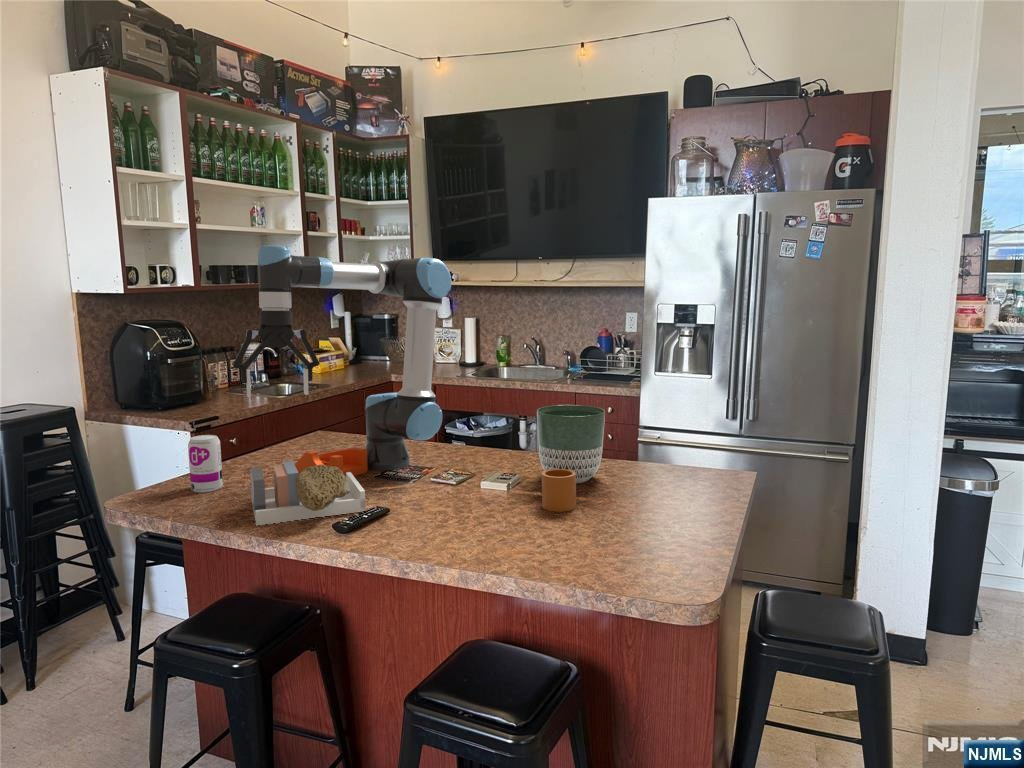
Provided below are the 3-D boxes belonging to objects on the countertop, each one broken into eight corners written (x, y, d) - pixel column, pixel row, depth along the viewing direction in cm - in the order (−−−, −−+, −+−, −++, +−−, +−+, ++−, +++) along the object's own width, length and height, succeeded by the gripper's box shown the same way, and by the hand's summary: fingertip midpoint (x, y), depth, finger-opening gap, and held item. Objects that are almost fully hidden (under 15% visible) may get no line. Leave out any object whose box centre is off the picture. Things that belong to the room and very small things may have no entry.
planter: (526, 488, 195) (527, 413, 192) (549, 471, 213) (549, 403, 210) (593, 495, 188) (594, 418, 185) (611, 477, 206) (612, 407, 203)
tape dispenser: (367, 475, 210) (366, 449, 209) (337, 485, 200) (336, 457, 198) (324, 468, 219) (323, 442, 218) (294, 477, 209) (292, 450, 207)
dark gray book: (262, 498, 180) (260, 466, 179) (266, 513, 168) (264, 479, 167) (252, 499, 179) (250, 467, 178) (255, 515, 167) (253, 480, 166)
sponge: (315, 477, 183) (275, 470, 163) (338, 460, 182) (301, 450, 163) (339, 519, 179) (302, 516, 160) (363, 501, 178) (328, 496, 159)
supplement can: (211, 494, 190) (207, 441, 188) (184, 492, 191) (181, 439, 189) (228, 486, 198) (225, 435, 196) (203, 484, 199) (199, 433, 197)
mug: (585, 501, 183) (585, 468, 182) (568, 514, 173) (569, 479, 171) (553, 496, 187) (554, 464, 186) (536, 509, 177) (536, 475, 175)
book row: (294, 497, 183) (292, 461, 182) (300, 512, 171) (298, 472, 170) (274, 500, 181) (272, 462, 180) (279, 514, 169) (277, 474, 168)
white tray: (351, 491, 193) (350, 472, 192) (365, 512, 174) (364, 490, 174) (251, 502, 182) (250, 482, 182) (256, 525, 164) (255, 503, 163)
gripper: (324, 309, 178) (326, 391, 180) (219, 309, 167) (223, 395, 170) (330, 310, 171) (331, 395, 173) (221, 309, 161) (224, 399, 163)
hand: (278, 395), depth 172 cm, fingers open, 13 cm apart
